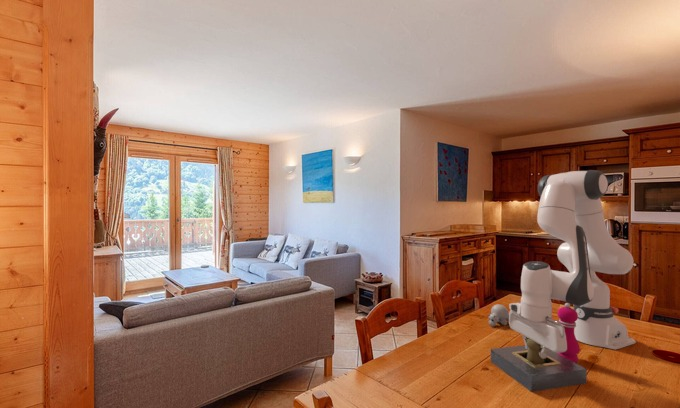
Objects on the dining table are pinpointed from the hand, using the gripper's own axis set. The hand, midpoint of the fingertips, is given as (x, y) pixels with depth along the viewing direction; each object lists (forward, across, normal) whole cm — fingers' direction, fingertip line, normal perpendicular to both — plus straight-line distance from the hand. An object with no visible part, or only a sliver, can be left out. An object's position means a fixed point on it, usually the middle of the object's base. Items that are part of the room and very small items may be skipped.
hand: (535, 353), depth 106 cm
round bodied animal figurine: (+6, +38, -16) cm, 41 cm away
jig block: (+6, 0, 0) cm, 6 cm away
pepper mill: (+6, +5, -18) cm, 20 cm away
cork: (+6, 0, 0) cm, 6 cm away
